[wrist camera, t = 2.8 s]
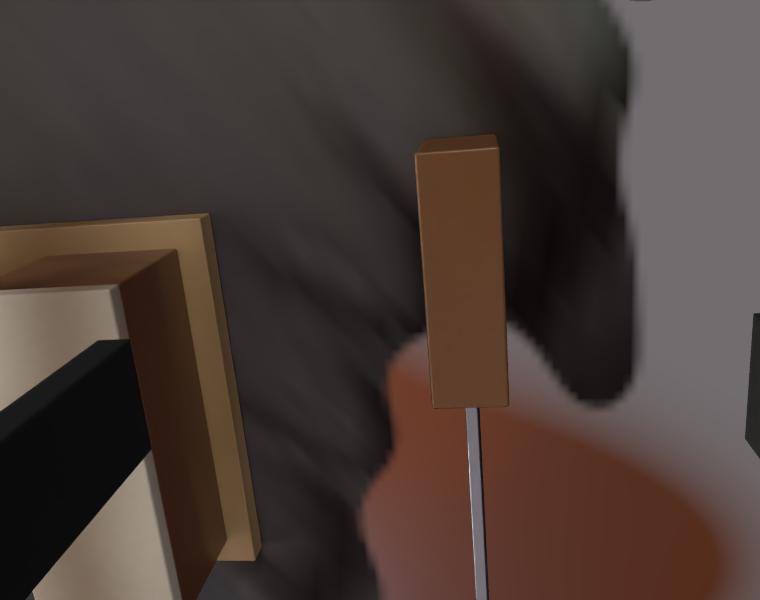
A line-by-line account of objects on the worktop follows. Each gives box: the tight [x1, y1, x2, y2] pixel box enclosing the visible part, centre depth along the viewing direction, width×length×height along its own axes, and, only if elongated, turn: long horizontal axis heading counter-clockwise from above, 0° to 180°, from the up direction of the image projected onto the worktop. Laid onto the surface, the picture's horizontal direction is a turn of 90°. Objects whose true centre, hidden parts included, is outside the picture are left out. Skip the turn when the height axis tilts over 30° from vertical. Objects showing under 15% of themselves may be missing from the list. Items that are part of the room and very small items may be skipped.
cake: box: [0, 213, 262, 600], centre depth 26 cm, size 14×14×6 cm
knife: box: [414, 134, 509, 600], centre depth 26 cm, size 23×2×4 cm, turn 5°
